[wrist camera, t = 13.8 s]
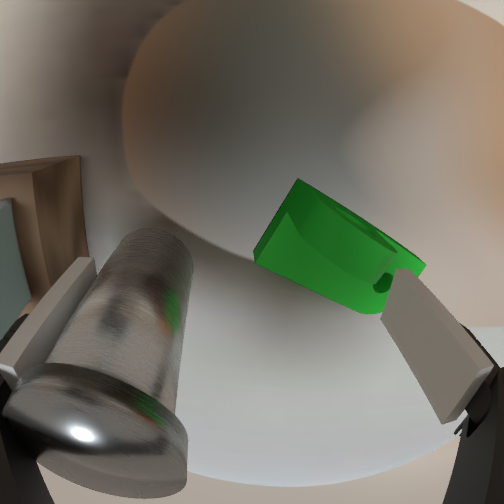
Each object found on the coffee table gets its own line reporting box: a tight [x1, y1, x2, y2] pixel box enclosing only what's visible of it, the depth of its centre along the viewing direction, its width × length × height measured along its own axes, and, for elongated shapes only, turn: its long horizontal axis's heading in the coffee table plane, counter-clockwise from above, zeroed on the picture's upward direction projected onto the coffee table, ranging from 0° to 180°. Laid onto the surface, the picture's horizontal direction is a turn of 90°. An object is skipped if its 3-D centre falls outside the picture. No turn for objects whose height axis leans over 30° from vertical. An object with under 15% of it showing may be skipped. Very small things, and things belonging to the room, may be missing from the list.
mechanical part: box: [253, 178, 426, 314], centre depth 19 cm, size 12×6×8 cm, turn 61°
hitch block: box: [0, 155, 89, 319], centre depth 20 cm, size 22×10×6 cm, turn 176°
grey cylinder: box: [2, 229, 193, 499], centre depth 10 cm, size 5×5×10 cm
